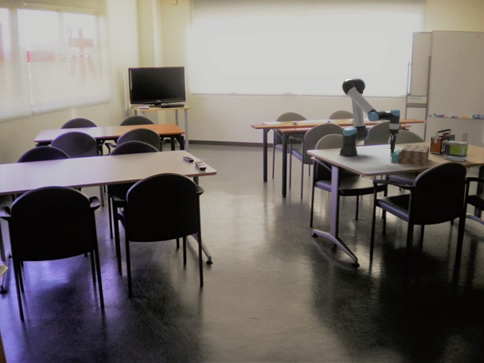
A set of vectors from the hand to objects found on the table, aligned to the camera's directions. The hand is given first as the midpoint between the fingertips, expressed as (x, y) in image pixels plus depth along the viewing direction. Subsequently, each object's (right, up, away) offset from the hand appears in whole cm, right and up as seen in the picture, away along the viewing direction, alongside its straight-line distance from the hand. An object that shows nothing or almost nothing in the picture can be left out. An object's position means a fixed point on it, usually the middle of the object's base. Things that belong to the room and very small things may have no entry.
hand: (391, 156), depth 411 cm
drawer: (+12, -3, -5) cm, 13 cm away
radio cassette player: (+55, +6, +33) cm, 64 cm away
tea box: (+53, -2, +2) cm, 53 cm away
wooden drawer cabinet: (+16, -4, -7) cm, 17 cm away
